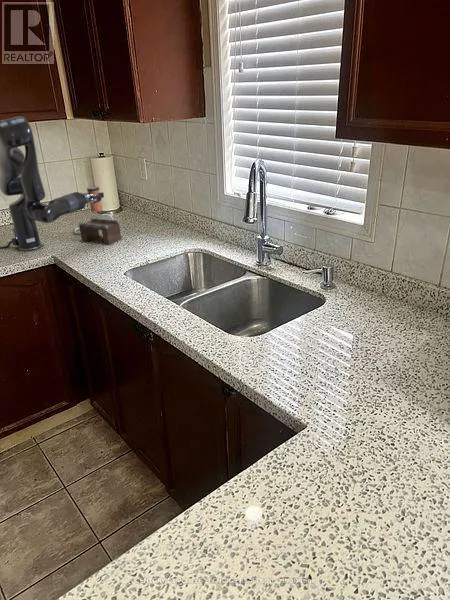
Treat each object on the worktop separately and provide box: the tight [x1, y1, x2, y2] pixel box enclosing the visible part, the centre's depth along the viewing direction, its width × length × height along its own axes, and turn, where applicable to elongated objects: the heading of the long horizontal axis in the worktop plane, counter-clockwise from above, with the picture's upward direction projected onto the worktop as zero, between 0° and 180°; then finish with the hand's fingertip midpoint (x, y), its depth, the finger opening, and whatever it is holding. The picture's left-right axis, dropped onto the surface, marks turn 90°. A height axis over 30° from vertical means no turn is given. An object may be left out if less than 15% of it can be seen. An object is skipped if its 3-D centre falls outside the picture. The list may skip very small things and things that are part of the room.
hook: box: [73, 213, 115, 235], centre depth 223 cm, size 7×9×20 cm
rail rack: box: [78, 217, 122, 246], centre depth 207 cm, size 16×9×9 cm, turn 64°
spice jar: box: [86, 186, 103, 212], centre depth 200 cm, size 5×5×10 cm
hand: (98, 194), depth 201 cm, fingers closed on spice jar, 5 cm apart
